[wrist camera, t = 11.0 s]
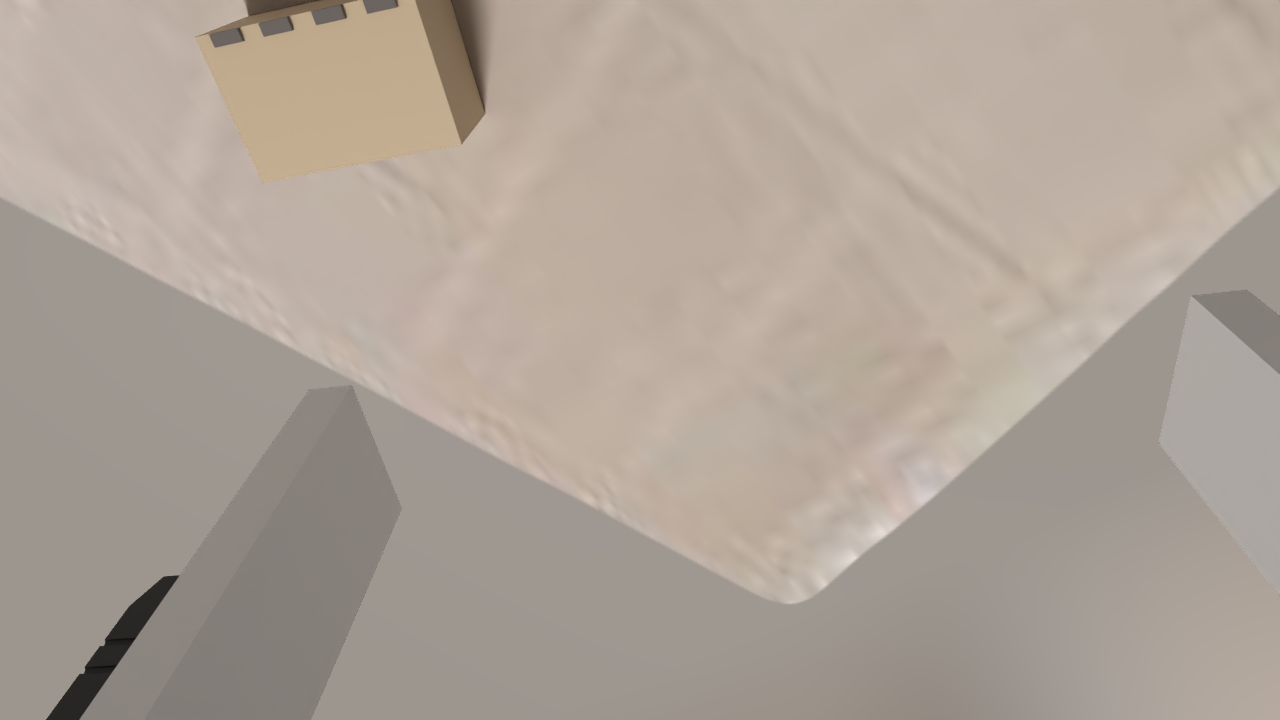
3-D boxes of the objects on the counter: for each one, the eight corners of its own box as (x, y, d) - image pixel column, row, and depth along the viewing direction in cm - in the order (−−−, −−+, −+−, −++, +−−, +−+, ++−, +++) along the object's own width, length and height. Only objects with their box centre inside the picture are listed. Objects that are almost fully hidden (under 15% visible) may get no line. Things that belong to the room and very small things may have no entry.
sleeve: (442, -28, 34) (409, -11, 30) (485, 113, 38) (460, 146, 34) (247, 16, 36) (192, 38, 32) (304, 149, 39) (260, 184, 35)
